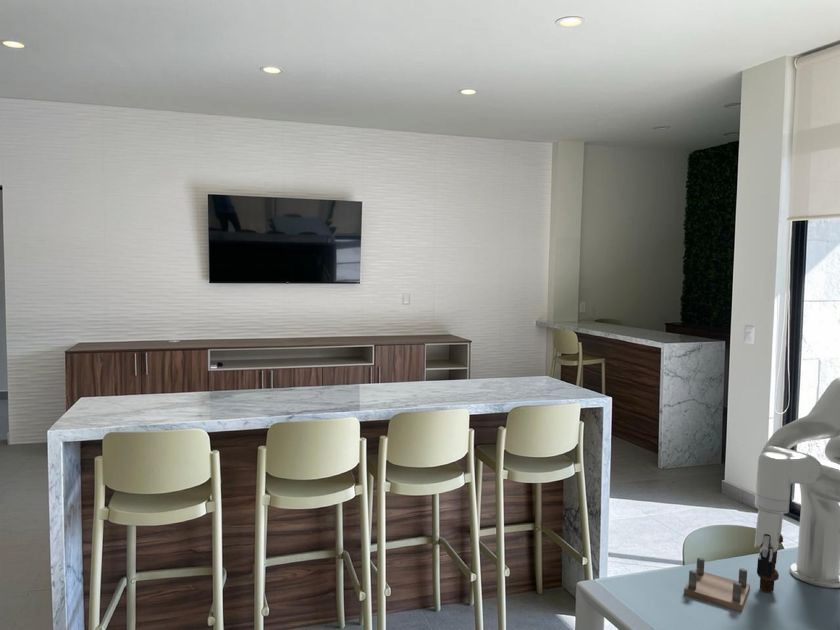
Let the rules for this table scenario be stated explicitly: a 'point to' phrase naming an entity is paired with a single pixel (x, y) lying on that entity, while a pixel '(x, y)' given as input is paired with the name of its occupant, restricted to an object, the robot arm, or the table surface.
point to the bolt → (767, 582)
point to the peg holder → (717, 587)
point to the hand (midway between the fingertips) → (766, 568)
